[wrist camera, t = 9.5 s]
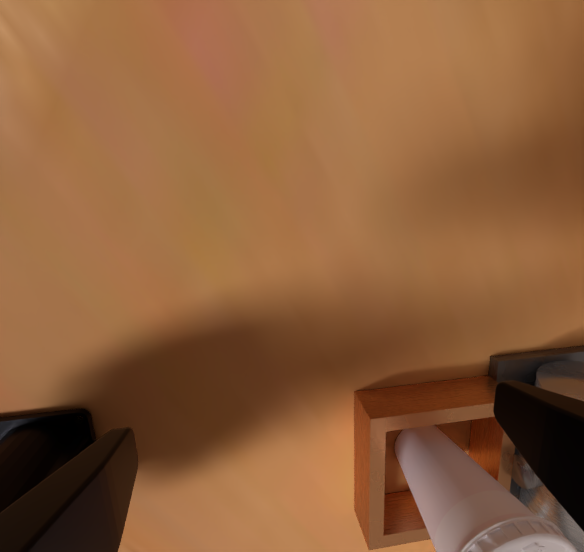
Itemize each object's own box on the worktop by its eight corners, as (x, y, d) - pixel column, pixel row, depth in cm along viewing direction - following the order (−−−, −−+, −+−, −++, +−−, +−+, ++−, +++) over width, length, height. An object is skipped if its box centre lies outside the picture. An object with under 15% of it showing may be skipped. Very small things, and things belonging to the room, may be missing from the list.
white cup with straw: (418, 389, 24) (646, 638, 10) (475, 433, 26) (736, 699, 12) (359, 454, 24) (502, 772, 11) (418, 494, 26) (606, 813, 13)
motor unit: (354, 526, 26) (400, 660, 18) (354, 371, 23) (408, 457, 15) (574, 487, 28) (695, 593, 21) (601, 343, 25) (753, 406, 18)
